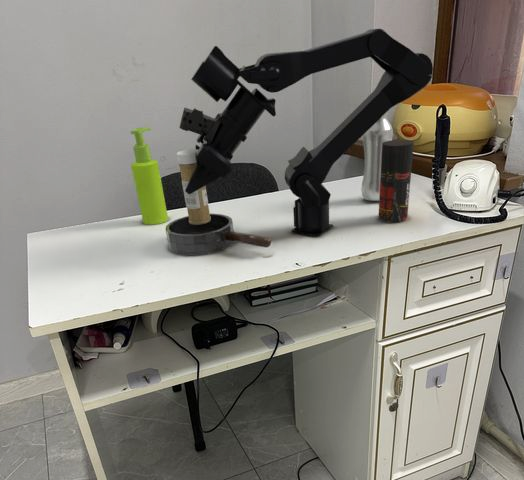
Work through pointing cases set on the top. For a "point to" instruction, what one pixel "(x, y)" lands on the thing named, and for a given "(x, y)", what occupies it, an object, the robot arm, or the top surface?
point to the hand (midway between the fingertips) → (187, 189)
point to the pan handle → (245, 238)
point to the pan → (198, 235)
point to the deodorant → (395, 180)
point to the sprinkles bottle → (197, 199)
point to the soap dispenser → (148, 182)
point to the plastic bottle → (374, 157)
